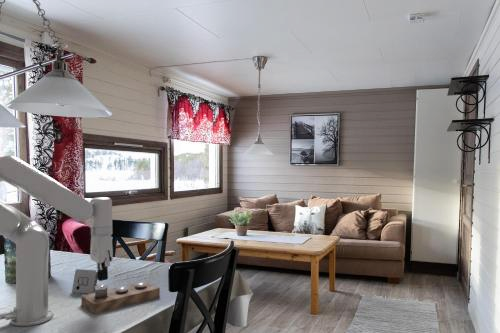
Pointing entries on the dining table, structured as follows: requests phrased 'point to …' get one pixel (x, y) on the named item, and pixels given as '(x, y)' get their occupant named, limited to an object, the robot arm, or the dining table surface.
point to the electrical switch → (85, 281)
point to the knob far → (140, 285)
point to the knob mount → (119, 298)
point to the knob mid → (121, 289)
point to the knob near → (101, 291)
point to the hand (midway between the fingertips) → (102, 279)
